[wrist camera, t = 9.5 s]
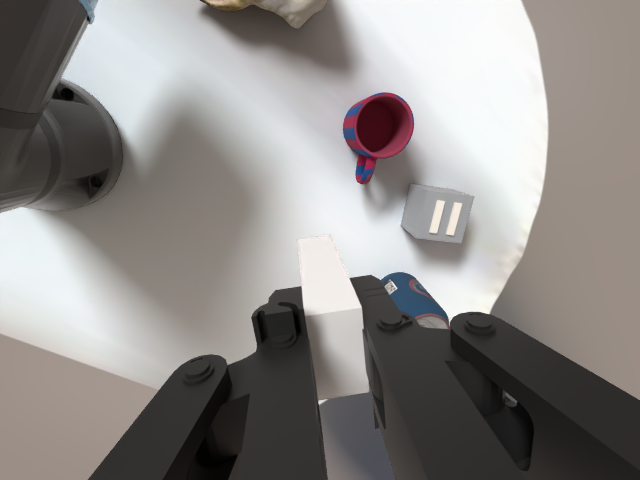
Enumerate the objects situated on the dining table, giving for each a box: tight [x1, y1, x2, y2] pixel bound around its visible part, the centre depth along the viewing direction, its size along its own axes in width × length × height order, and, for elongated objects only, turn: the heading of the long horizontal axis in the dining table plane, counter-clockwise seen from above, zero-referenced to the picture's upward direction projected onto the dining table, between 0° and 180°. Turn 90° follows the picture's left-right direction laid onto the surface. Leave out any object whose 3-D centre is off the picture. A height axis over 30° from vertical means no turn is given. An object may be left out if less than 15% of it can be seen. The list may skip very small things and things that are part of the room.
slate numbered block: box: [401, 183, 474, 243], centre depth 43 cm, size 6×6×6 cm
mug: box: [343, 93, 414, 184], centre depth 39 cm, size 7×10×7 cm
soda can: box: [381, 272, 450, 329], centre depth 43 cm, size 7×7×12 cm
